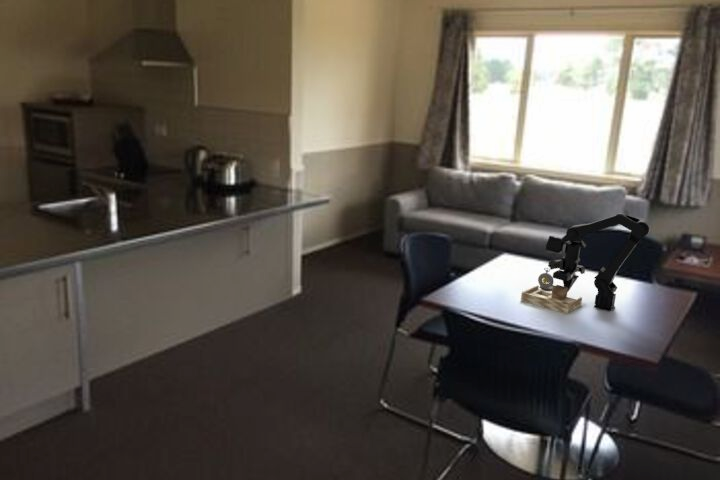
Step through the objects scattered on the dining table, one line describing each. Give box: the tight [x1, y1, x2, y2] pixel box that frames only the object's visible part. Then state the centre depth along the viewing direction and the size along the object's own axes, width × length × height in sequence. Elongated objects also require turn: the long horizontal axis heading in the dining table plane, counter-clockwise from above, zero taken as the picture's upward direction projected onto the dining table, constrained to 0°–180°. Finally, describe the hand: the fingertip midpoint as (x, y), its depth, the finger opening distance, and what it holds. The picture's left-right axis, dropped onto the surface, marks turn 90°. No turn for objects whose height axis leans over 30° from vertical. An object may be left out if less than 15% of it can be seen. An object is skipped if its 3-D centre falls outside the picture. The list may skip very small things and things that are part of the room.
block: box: [551, 284, 569, 300], centre depth 248 cm, size 4×4×4 cm
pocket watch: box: [537, 267, 555, 291], centre depth 264 cm, size 8×8×10 cm
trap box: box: [520, 284, 583, 314], centre depth 247 cm, size 20×14×4 cm
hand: (566, 291), depth 253 cm, fingers closed
